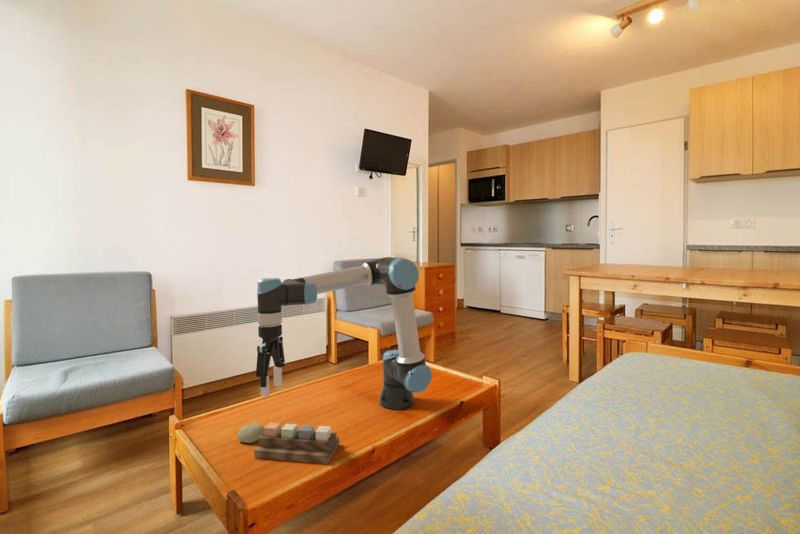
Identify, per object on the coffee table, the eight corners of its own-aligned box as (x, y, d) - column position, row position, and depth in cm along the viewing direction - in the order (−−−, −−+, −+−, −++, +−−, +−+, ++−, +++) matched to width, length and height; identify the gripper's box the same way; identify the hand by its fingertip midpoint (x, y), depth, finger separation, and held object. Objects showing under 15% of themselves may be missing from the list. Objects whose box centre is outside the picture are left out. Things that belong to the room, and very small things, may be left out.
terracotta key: (280, 433, 135) (280, 423, 135) (275, 438, 131) (275, 428, 131) (270, 432, 136) (269, 422, 136) (264, 438, 132) (264, 427, 132)
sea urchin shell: (239, 427, 145) (255, 412, 145) (255, 441, 146) (271, 426, 146) (231, 440, 136) (247, 423, 136) (248, 455, 137) (264, 438, 137)
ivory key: (331, 436, 133) (331, 426, 132) (327, 442, 129) (327, 432, 129) (319, 435, 133) (319, 425, 133) (315, 441, 129) (315, 431, 129)
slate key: (314, 435, 134) (314, 425, 133) (309, 441, 130) (309, 431, 129) (303, 434, 134) (302, 424, 134) (298, 440, 130) (298, 430, 130)
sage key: (297, 434, 134) (297, 424, 134) (292, 440, 130) (292, 429, 130) (286, 433, 135) (286, 423, 135) (281, 439, 131) (281, 429, 131)
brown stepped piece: (339, 444, 137) (339, 429, 136) (328, 463, 125) (327, 447, 125) (271, 439, 140) (271, 424, 140) (254, 457, 128) (254, 441, 128)
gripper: (274, 318, 142) (275, 379, 144) (242, 331, 121) (244, 402, 123) (293, 318, 141) (295, 380, 143) (265, 332, 120) (266, 404, 121)
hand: (271, 390), depth 133 cm, fingers open, 9 cm apart
